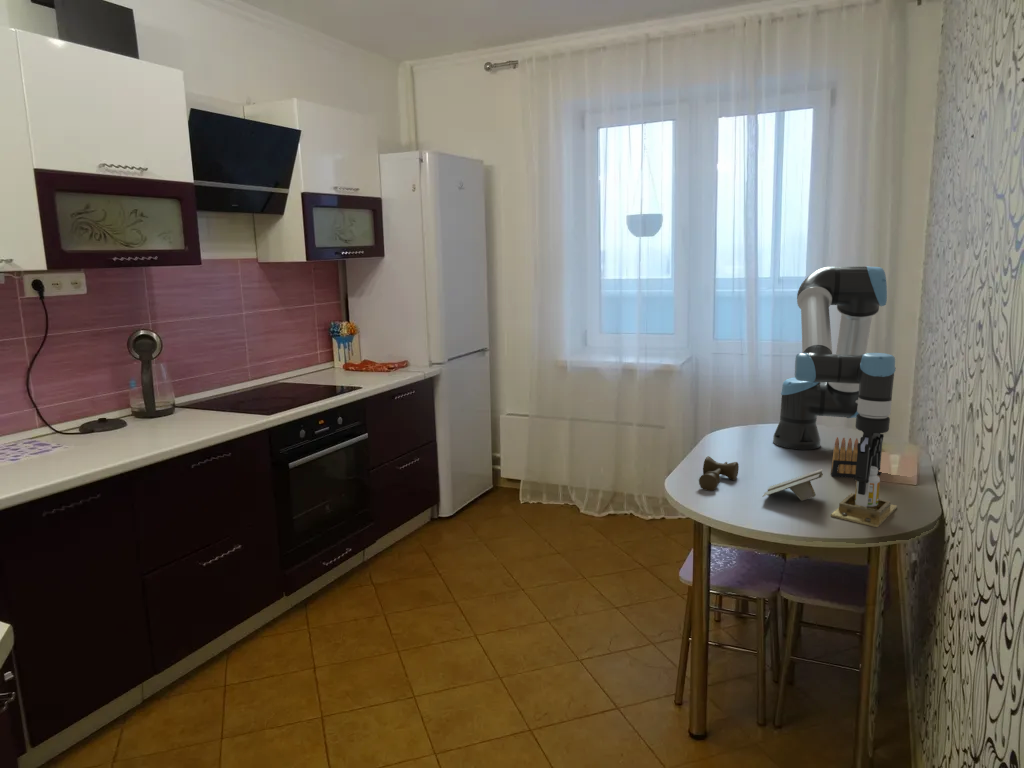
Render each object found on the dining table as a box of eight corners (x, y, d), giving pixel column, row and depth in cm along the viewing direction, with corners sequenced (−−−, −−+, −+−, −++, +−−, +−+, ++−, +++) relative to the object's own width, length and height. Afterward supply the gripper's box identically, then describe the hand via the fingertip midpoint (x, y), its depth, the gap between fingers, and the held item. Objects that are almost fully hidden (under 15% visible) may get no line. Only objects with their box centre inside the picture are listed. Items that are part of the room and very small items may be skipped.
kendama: (689, 489, 199) (710, 468, 216) (723, 496, 194) (742, 474, 211) (691, 470, 198) (711, 450, 214) (725, 476, 193) (743, 455, 209)
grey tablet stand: (781, 524, 183) (831, 493, 177) (760, 496, 185) (809, 465, 179) (788, 512, 197) (835, 483, 191) (769, 486, 200) (814, 457, 194)
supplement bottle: (867, 498, 182) (870, 463, 180) (882, 506, 177) (886, 469, 175) (849, 500, 181) (852, 465, 179) (864, 508, 176) (867, 471, 174)
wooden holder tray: (852, 498, 189) (853, 489, 189) (896, 507, 182) (897, 498, 181) (830, 516, 177) (831, 506, 177) (877, 527, 170) (878, 517, 169)
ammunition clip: (831, 476, 207) (834, 437, 204) (830, 474, 209) (833, 436, 206) (870, 479, 204) (874, 440, 202) (869, 477, 206) (873, 438, 203)
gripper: (868, 406, 184) (860, 489, 188) (845, 419, 170) (837, 508, 175) (899, 410, 179) (891, 495, 183) (878, 424, 165) (869, 516, 170)
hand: (865, 502), depth 179 cm, fingers open, 5 cm apart
